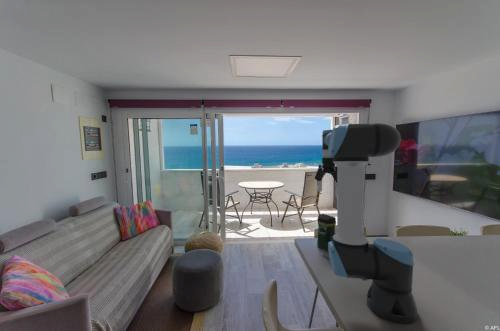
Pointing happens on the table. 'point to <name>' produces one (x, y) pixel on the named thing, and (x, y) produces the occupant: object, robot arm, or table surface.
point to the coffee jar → (325, 230)
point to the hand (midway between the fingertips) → (328, 193)
